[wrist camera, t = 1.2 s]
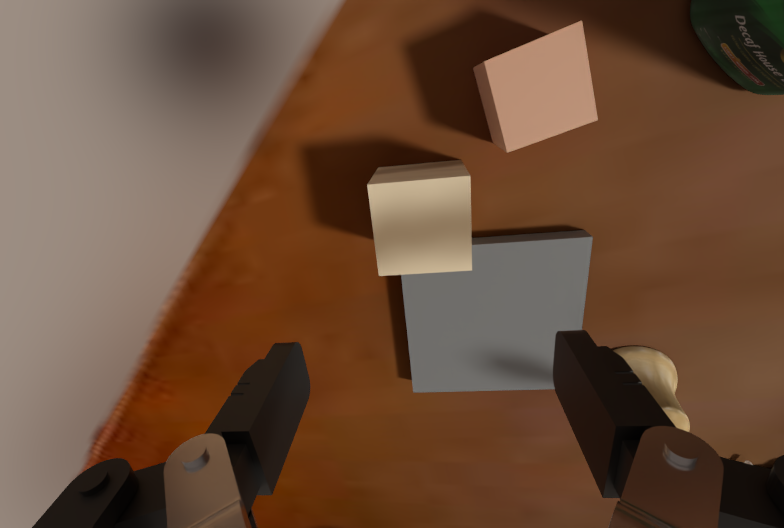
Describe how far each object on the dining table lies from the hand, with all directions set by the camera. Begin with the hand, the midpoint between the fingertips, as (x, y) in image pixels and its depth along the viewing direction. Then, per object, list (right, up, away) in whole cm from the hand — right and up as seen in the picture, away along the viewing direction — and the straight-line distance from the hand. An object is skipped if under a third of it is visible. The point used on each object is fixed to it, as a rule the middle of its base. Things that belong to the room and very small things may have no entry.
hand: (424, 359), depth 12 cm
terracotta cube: (+7, +14, +13) cm, 21 cm away
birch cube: (+1, +8, +16) cm, 18 cm away
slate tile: (+7, -1, +20) cm, 21 cm away
